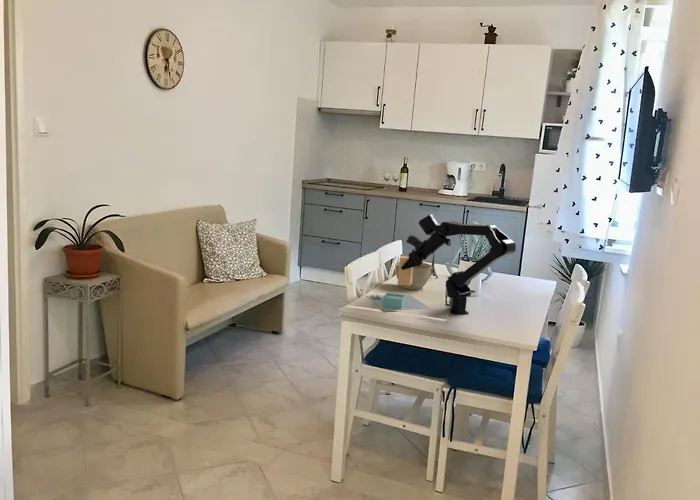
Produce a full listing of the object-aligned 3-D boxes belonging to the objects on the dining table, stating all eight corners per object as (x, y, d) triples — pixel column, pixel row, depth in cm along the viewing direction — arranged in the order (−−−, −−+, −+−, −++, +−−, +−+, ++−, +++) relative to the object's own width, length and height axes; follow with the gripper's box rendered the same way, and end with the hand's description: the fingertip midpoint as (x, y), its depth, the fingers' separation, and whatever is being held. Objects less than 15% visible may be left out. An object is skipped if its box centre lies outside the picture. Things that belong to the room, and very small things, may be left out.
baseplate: (431, 310, 240) (432, 299, 240) (384, 312, 233) (385, 300, 233) (409, 296, 259) (410, 286, 258) (364, 297, 252) (365, 287, 251)
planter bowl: (427, 285, 281) (430, 262, 279) (431, 294, 265) (434, 270, 263) (392, 282, 281) (394, 259, 279) (394, 291, 265) (396, 267, 263)
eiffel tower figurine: (428, 273, 307) (430, 247, 305) (446, 277, 302) (449, 250, 299) (414, 278, 295) (417, 251, 292) (433, 282, 289) (436, 254, 287)
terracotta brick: (411, 283, 253) (414, 257, 251) (409, 285, 248) (412, 259, 246) (399, 281, 254) (402, 255, 252) (397, 284, 249) (400, 257, 247)
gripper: (423, 225, 255) (394, 248, 259) (416, 231, 237) (385, 256, 242) (440, 246, 254) (411, 268, 259) (434, 254, 236) (403, 278, 241)
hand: (402, 267), depth 250 cm, fingers closed on terracotta brick, 5 cm apart
